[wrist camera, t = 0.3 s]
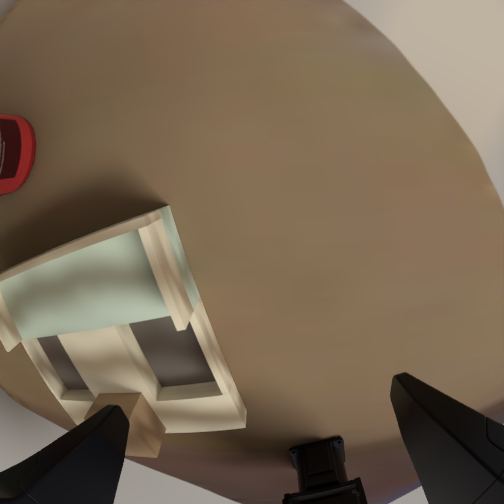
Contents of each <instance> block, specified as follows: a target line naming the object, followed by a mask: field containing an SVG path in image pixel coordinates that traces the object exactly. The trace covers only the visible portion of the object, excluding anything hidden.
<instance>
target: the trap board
mask: <svg viewBox="0 0 504 504" xmlns="http://www.w3.org/2000/svg"><path fill="white" fill-rule="evenodd" d="M0 340H1V341H2V343H3V345H4V347H5V349H6V351H7V352H10V351H11V350H12V349H13V348H14V347H15V346H16V345H17V344H18V343H19V342H22V344H23V346H24V348H25V350H26V351H27V353H28V355H29V357H30V358H31V360H32V362H33V363H34V365H35V367H36V368H37V370H38V372H39V373H40V375H41V376H42V378H43V379H44V381H45V382H46V384H47V385H48V387H49V388H50V390H51V391H52V393H53V394H54V395H55V397H56V398H57V400H58V401H59V402H60V404H61V405H62V406H63V408H64V409H65V410H66V412H67V413H68V414H69V416H70V417H71V418H72V419H73V421H74V422H75V423H76V424H77V425H79V424H80V423H82V422H83V421H84V420H83V418H84V417H85V415H86V414H87V412H88V410H89V409H90V407H91V405H92V404H93V402H94V401H95V399H96V397H97V396H98V394H99V393H140V392H142V394H143V395H144V397H145V399H146V400H147V402H148V403H149V405H150V406H151V408H152V409H153V411H154V412H155V413H156V415H157V416H158V418H159V419H160V421H161V422H162V423H163V425H164V426H165V428H166V432H165V433H190V432H208V431H220V430H231V429H240V428H246V415H247V410H246V408H245V406H244V403H243V401H242V399H241V397H240V394H239V392H238V390H237V388H236V385H235V383H234V381H233V378H232V376H231V374H230V371H229V369H228V367H227V364H226V362H225V359H224V357H223V354H222V352H221V350H220V347H219V345H218V342H217V340H216V337H215V335H214V332H213V330H212V327H211V324H210V322H209V319H208V317H207V314H206V311H205V309H204V306H203V303H202V301H201V298H200V295H199V292H198V290H197V287H196V284H195V281H194V279H193V276H192V273H191V270H190V267H189V264H188V261H187V259H186V256H185V253H184V250H183V247H182V244H181V241H180V238H179V235H178V232H177V228H176V225H175V222H174V219H173V216H172V213H171V209H170V206H169V205H168V206H165V207H162V208H159V209H156V210H153V211H150V212H147V213H144V214H141V215H139V216H136V217H133V218H130V219H127V220H124V221H122V222H119V223H116V224H114V225H111V226H108V227H105V228H103V229H100V230H98V231H95V232H92V233H90V234H87V235H85V236H82V237H80V238H77V239H75V240H72V241H70V242H67V243H65V244H63V245H60V246H58V247H55V248H53V249H51V250H48V251H46V252H44V253H41V254H39V255H37V256H35V257H32V258H30V259H28V260H26V261H24V262H21V263H19V264H17V265H15V266H13V267H11V268H9V269H6V270H4V271H3V272H1V273H0Z"/></svg>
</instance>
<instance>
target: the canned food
mask: <svg viewBox="0 0 504 504" xmlns="http://www.w3.org/2000/svg"><path fill="white" fill-rule="evenodd" d="M35 149H36V143H35V135H34V131H33V128H32V126H31V125H30V123H29V122H28V121H26V120H25V119H23V118H22V117H19V116H12V115H2V114H0V196H2V195H6V194H10V193H12V192H14V191H15V190H17V189H18V188H19V187H21V186H22V185H23V183H24V182H25V181H26V179H27V178H28V176H29V174H30V171H31V169H32V166H33V162H34V157H35Z"/></svg>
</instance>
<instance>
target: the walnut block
mask: <svg viewBox="0 0 504 504" xmlns="http://www.w3.org/2000/svg"><path fill="white" fill-rule="evenodd" d="M108 404H117V405H119V406H120V407H121V408H122V410H123V411H124V413H125V415H126V416H127V418H128V419H129V422H130V428H129V434H128V440H127V446H126V452H125V455H129V456H140V457H154V458H157V457H158V453H159V450H160V447H161V444H162V441H163V438H164V435H165V432H166V428H165V426H164V425H163V423H162V422H161V421H160V419H159V418H158V416H157V415H156V413H155V412H154V411H153V409H152V408H151V406H150V405H149V403H148V402H147V400H146V399H145V397H144V395H143V394H142V392H140V393H99V394H98V396H97V397H96V399H95V401H94V402H93V404H92V405H91V407H90V409H89V410H88V412H87V414H86V415H85V417H84V418H83V420H84V421H85V420H86V419H88V418H89V417H90V416H92V415H93V414H95V413H96V412H98V411H99V410H100V409H102V408H103V407H105V406H106V405H108Z"/></svg>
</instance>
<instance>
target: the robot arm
mask: <svg viewBox="0 0 504 504" xmlns="http://www.w3.org/2000/svg"><path fill="white" fill-rule="evenodd" d="M390 398H391V402H392V405H393V408H394V412H395V415H396V418H397V422H398V425H399V429H400V432H401V435H402V438H403V441H404V443H405V446H406V448H407V450H408V453H409V455H410V457H411V460H412V462H413V465H414V467H415V470H416V472H417V475H418V477H419V480H420V482H421V485H422V487H423V490H424V492H425V495H426V498H427V500H428V503H429V504H504V425H503V424H501V423H499V422H497V421H495V420H493V419H491V418H489V417H486V416H485V415H483V414H481V413H479V412H477V411H475V410H474V409H472V408H470V407H468V406H466V405H464V404H462V403H461V402H459V401H457V400H455V399H453V398H451V397H450V396H448V395H446V394H444V393H442V392H440V391H439V390H437V389H435V388H433V387H431V386H430V385H428V384H426V383H424V382H422V381H421V380H419V379H417V378H415V377H414V376H412V375H410V374H408V373H406V372H403V373H400V374H397V375H394V376H393V379H392V385H391V392H390ZM129 428H130V422H129V419H128V418H127V416H126V415H125V413H124V411H123V410H122V408H121V407H120V406H119V405H117V404H108V405H106V406H105V407H103V408H102V409H100V410H99V411H98V412H96V413H95V414H93V415H92V416H90V417H89V418H88V419H86V420H85V421H83V422H82V423H80V424H79V425H77V426H76V427H74V428H73V429H72V430H70V431H69V432H67V433H66V434H64V435H63V436H61V437H60V438H58V439H57V440H55V441H54V442H52V443H51V444H49V445H48V446H46V447H45V448H43V449H41V451H39V452H37V453H35V454H34V455H32V456H31V457H29V458H27V459H26V460H24V461H22V462H20V463H18V464H17V465H14V466H12V467H10V468H8V469H6V470H4V471H2V472H0V504H113V503H114V498H115V494H116V490H117V486H118V482H119V478H120V474H121V471H122V467H123V462H124V458H125V452H126V446H127V440H128V434H129ZM289 453H290V456H291V458H292V461H293V463H294V466H295V468H296V471H297V474H298V485H299V492H298V493H292V494H289V493H288V494H284V499H283V500H282V504H367V500H366V496H365V493H364V489H363V486H362V483H361V479H360V477H358V478H355V479H354V480H350V481H348V479H347V475H346V470H345V466H344V462H345V452H344V441H343V438H342V437H338V438H335V439H331V440H327V441H322V442H318V443H314V444H309V445H304V446H299V447H294V448H290V449H289Z"/></svg>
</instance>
